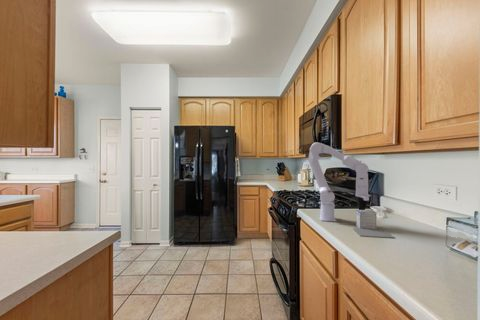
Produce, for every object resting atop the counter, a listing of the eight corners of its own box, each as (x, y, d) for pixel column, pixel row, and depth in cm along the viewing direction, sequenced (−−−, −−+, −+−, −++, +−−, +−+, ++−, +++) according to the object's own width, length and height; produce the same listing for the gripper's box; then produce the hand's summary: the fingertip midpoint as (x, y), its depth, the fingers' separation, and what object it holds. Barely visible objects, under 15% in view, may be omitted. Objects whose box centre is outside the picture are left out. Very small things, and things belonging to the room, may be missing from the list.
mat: (352, 228, 115) (352, 228, 115) (384, 230, 112) (384, 229, 112) (360, 236, 104) (360, 235, 104) (394, 238, 101) (394, 237, 101)
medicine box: (372, 227, 118) (372, 209, 118) (376, 229, 114) (376, 211, 114) (356, 226, 119) (356, 209, 119) (359, 229, 114) (359, 211, 114)
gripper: (375, 188, 115) (375, 215, 115) (365, 184, 129) (365, 209, 129) (360, 187, 116) (360, 215, 116) (351, 184, 130) (351, 208, 130)
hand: (361, 212), depth 123 cm, fingers closed
